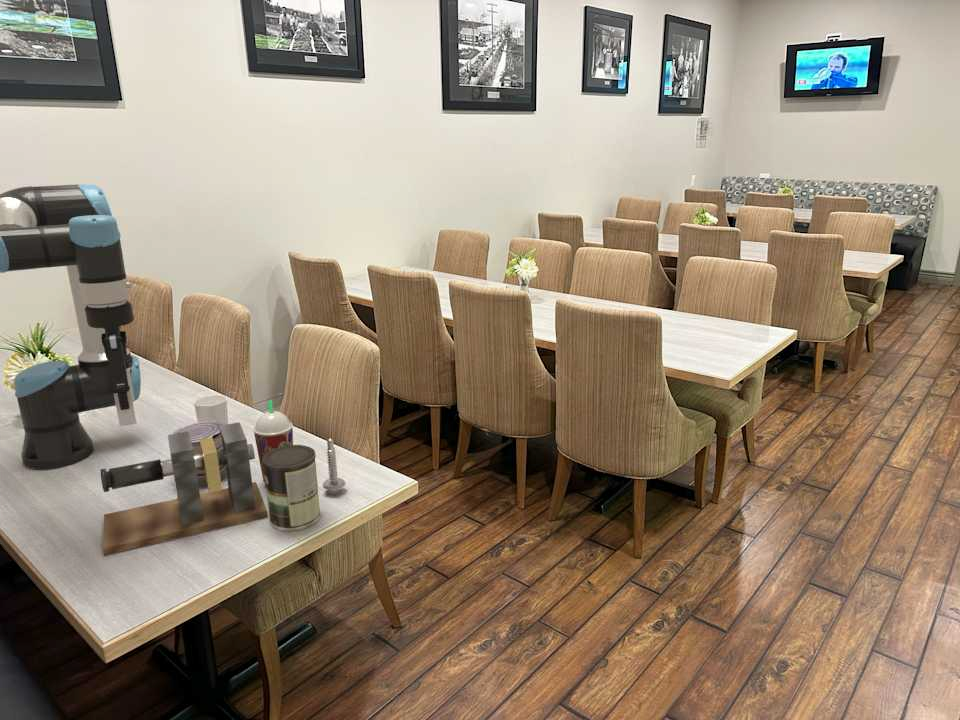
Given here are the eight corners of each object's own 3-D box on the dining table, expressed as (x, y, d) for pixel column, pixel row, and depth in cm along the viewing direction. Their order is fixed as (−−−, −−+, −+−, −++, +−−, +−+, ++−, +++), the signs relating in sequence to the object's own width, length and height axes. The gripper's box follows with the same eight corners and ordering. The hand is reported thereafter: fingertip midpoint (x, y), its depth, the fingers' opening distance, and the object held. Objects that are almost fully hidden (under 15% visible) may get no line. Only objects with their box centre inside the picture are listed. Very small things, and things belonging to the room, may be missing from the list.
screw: (343, 497, 148) (321, 497, 148) (347, 486, 153) (325, 486, 153) (338, 442, 144) (316, 442, 144) (343, 433, 149) (321, 433, 149)
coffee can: (264, 533, 135) (256, 468, 131) (275, 506, 145) (267, 445, 140) (317, 530, 136) (311, 465, 131) (324, 504, 145) (318, 443, 141)
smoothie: (305, 477, 157) (297, 395, 151) (284, 494, 150) (274, 409, 144) (274, 472, 160) (265, 392, 154) (252, 488, 152) (241, 405, 146)
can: (225, 486, 153) (218, 437, 150) (171, 491, 152) (163, 442, 148) (234, 464, 164) (227, 418, 160) (184, 468, 162) (176, 421, 159)
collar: (209, 492, 137) (203, 454, 134) (204, 475, 144) (199, 439, 141) (222, 490, 138) (216, 452, 135) (217, 473, 145) (212, 436, 142)
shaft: (104, 496, 130) (100, 475, 128) (105, 486, 134) (100, 465, 132) (256, 465, 142) (253, 445, 140) (252, 456, 145) (250, 437, 144)
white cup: (236, 430, 184) (231, 395, 181) (222, 442, 176) (217, 406, 173) (208, 429, 185) (203, 394, 181) (193, 441, 177) (188, 405, 174)
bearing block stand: (103, 555, 128) (86, 474, 123) (105, 520, 140) (89, 445, 135) (267, 516, 141) (258, 441, 135) (256, 487, 153) (247, 417, 147)
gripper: (131, 314, 114) (152, 431, 121) (129, 288, 136) (147, 389, 142) (80, 320, 111) (104, 439, 118) (86, 292, 133) (106, 395, 139)
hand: (127, 412), depth 130 cm, fingers open, 13 cm apart
